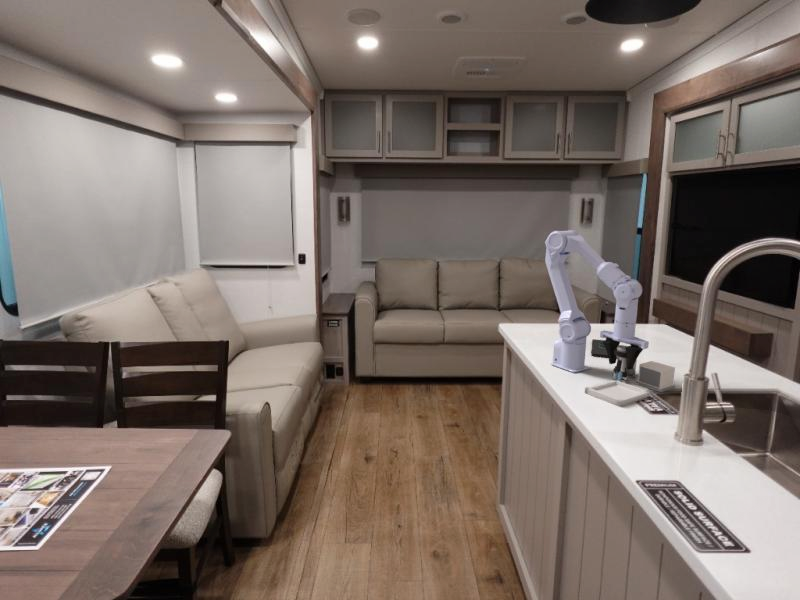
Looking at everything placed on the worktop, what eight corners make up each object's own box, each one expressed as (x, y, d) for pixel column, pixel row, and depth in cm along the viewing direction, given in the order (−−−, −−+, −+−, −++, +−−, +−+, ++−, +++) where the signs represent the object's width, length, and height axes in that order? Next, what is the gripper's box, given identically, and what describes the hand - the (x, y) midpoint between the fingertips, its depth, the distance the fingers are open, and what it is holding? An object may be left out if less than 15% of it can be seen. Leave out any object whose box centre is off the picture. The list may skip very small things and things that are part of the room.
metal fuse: (618, 373, 153) (620, 353, 152) (626, 371, 155) (628, 351, 154) (629, 377, 149) (631, 356, 148) (637, 375, 151) (640, 354, 150)
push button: (633, 384, 144) (639, 352, 141) (615, 383, 144) (621, 351, 141) (623, 375, 150) (628, 344, 148) (606, 374, 150) (611, 343, 148)
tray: (584, 392, 137) (585, 387, 136) (614, 384, 143) (614, 379, 143) (619, 406, 128) (620, 401, 127) (649, 397, 134) (650, 391, 134)
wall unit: (635, 383, 144) (637, 363, 143) (649, 379, 148) (651, 360, 147) (661, 392, 138) (663, 371, 136) (675, 387, 141) (677, 367, 140)
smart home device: (615, 340, 185) (617, 355, 167) (615, 345, 185) (616, 360, 167) (591, 338, 188) (591, 352, 170) (591, 343, 188) (590, 357, 170)
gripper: (595, 318, 148) (591, 361, 150) (639, 328, 135) (634, 375, 138) (610, 315, 151) (606, 358, 154) (655, 325, 139) (650, 371, 142)
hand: (620, 366), depth 146 cm, fingers closed on push button, 5 cm apart
